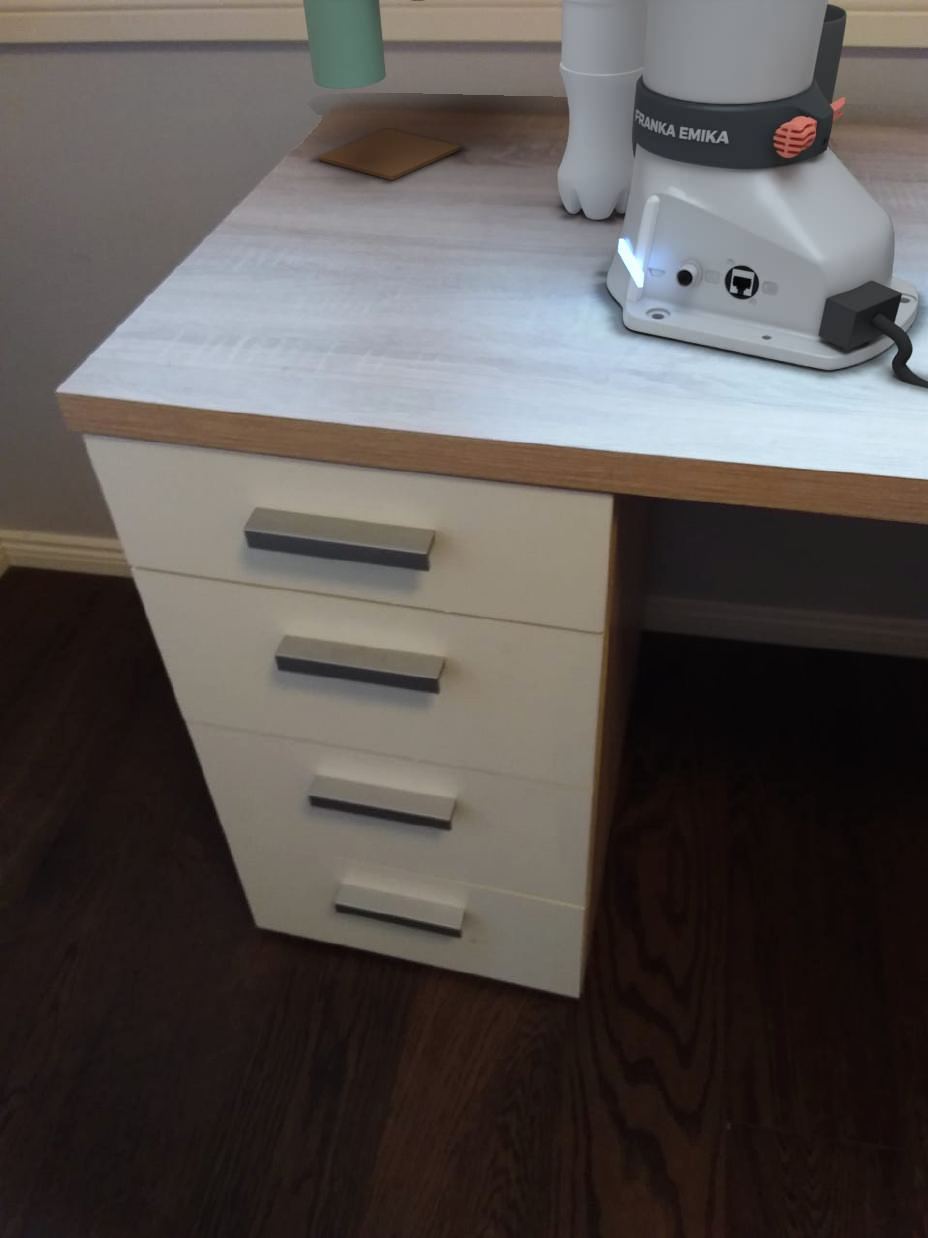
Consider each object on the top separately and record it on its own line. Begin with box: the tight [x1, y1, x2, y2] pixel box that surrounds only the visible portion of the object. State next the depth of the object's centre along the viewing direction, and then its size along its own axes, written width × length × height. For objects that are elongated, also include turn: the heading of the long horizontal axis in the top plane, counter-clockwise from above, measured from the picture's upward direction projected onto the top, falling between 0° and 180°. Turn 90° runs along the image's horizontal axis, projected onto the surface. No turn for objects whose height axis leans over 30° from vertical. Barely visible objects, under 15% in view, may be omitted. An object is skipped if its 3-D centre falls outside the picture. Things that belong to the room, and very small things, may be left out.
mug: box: [813, 3, 848, 104], centre depth 94 cm, size 14×9×12 cm
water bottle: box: [556, 0, 648, 221], centre depth 80 cm, size 7×7×25 cm
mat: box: [318, 128, 461, 181], centre depth 101 cm, size 10×10×1 cm
